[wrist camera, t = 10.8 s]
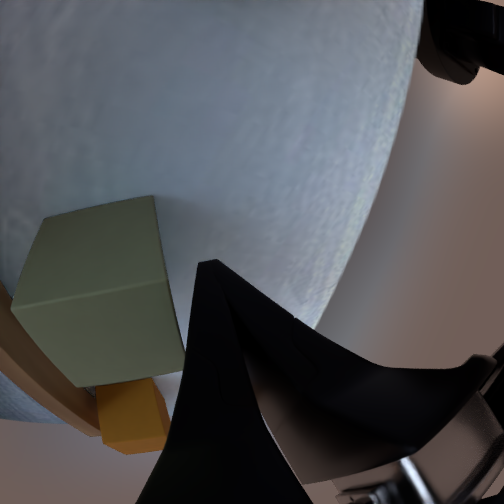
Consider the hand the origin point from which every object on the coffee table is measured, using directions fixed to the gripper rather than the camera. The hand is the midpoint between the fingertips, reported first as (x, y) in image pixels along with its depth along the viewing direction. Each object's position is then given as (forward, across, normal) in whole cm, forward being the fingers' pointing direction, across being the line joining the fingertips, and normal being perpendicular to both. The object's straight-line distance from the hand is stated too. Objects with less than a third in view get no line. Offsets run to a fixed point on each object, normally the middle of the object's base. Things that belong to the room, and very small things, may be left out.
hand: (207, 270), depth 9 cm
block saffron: (+2, +6, +12) cm, 13 cm away
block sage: (+2, +3, 0) cm, 4 cm away
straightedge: (+2, +9, -2) cm, 10 cm away
